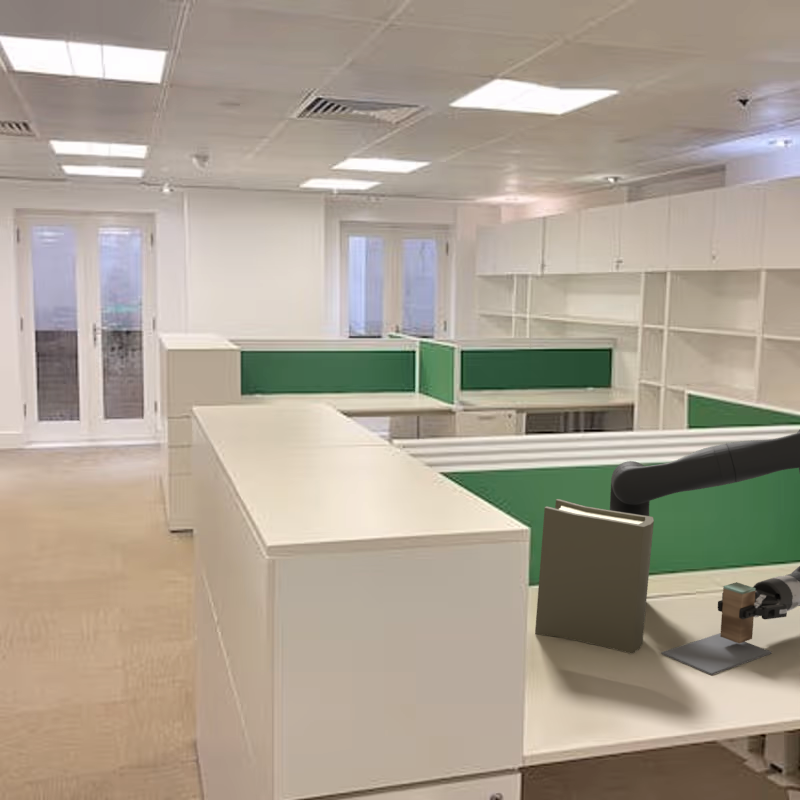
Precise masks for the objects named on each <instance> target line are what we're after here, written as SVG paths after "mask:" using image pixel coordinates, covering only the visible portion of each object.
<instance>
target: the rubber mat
mask: <svg viewBox="0 0 800 800" xmlns="http://www.w3.org/2000/svg"><path fill="white" fill-rule="evenodd" d="M720 635H721V632H719V633H716V634H712V635H710V636H707V637H705V638H700V639H697V640H695V641H692V642H689V643H685V644H682V645H680V646H676V647H673V648H670V649H666V650H664V651H661V655H663V656H666V657H669V658H670V659H673V660H675V661H677V662H679V663H682V664H684V665H687V666H689V667H692V668H693V669H696V670H699V671H700V672H703V673H705V674H707V675H710V676H713V675H716V674H718V673H722V672H725V671H726V670H729V669H732V668H734V667H738V666H741V665H743V664H746V663H749V662H751V661H754V660H757V659H759V658H760V659H761V658H763V657H765V656H766V657H767V656H768V655H771V654H772V651H770V650H768V649H766V648H763V647H760V646H758V645H755V644H752V643H750V642H748V641H745V642H742V643H736V642H734V641H731V640H728V639H726V638H723V637H720Z"/></svg>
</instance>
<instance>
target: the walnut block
mask: <svg viewBox="0 0 800 800" xmlns="http://www.w3.org/2000/svg"><path fill="white" fill-rule="evenodd" d="M722 587H723V589H722V593H723V606H722V612H721V619H720V620H721V622H720V633H721V635H720V637H723V638H726V639H728V640H731V641H734V642H736V643H742V642H748V641H750V640H753V633H754V632H753V630H754V618H755V617H750V618H746V619H740V618H739V611H740V608H743V607H746V606H749V605H752V606H753V604H754V603H755V589H756V588H753V586H749V585H747V584H744V583H740V582H738V581H737V582H732V583H730V584H726V585H724V586H722Z"/></svg>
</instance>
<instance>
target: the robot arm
mask: <svg viewBox="0 0 800 800" xmlns="http://www.w3.org/2000/svg"><path fill="white" fill-rule="evenodd" d="M791 469H798V471H799V472H798V473H800V429H799V430H798V431H797V432H796V433H792V434H789V435H784V436H782V437H777V438H770V439H757V440H755V439H754V440H743V441H742V440H740V441H734V442H726V443H722V444H718V445H712V446H708V447H705V448H702V449H699V450H696V451H693V452H692V453H689V454H686V455H685V456H683V457H680V458H678V459H676V460H673V461H670V462H666V463H660V464H653V465H646V466H645V465H643V464H642V463H640V462H637V461H632V460H629V461H628V460H627V461H623V462H622V463H620V464H619V465H617V466H616V467H615V469H614V470H613V472H612V474H611V480H610V481H611V482H610V493H609V495H610V497H609V498H610V500H609V501H610V502H609V510H611V511H617V512H624V513H630V514H637V515H644V516H650V502H651V501H653V500H656V499H659V498H663V497H665V496H669V495H673V494H677V493H682V492H689V491H698V490H704V489H707V488H708V489H709V488H714V487H721V486H725V485H730V484H735V483H740V482H744V481H747V480H752V479H755V478H760V477H763V476H766V475H770V474H773V473H776V472H780V471H785V470H791ZM752 587H753V588H756V589H755V603H754V604H753V606H752V605H749V606H746V607H743V608H740V611H739V618H740V619H746V618H750V617H754V618H759V617H761V619H763V620H771V619H773V620H774V619H778V618H779V619H780V618H786V617H787V615H788V614H787V613H788V612H789V611H793V610H794V609H796V608H797V607H800V565H799V566H798V567H797V568H795V570H793V571H792V572H791V573H789V574H786V575H778V576H775V577H772V578H768V579H765V580H761V581H758V582H756V583H754V585H753V586H752ZM722 606H723V592H722V596H721V600H718V601H717V611H718V612H721V613H722Z"/></svg>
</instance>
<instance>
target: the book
mask: <svg viewBox="0 0 800 800" xmlns="http://www.w3.org/2000/svg"><path fill="white" fill-rule="evenodd" d="M542 522H543V525H542V526H543V527H542V536H541V550H540V563H539V564H540V565H539V577H538V579H539V580H538V590H537V601H536V602H537V603H536V617H535V630H534V634H535V635H539V636H548V637H549V636H550V637H556V638H557V637H558V638H565V639H569V640H573V641H577V642H582V643H587V644H589V645H590V644H591V645H595V646H599V647H603V648H608V649H613V650H616V651H620V652H624V653H628V654H634V653H636V652H637V651H639V650H640V649H641V648H642V646H643V641H644V631H645V630H644V629H645V619H646V609H647V608H646V607H647V599H648V587H649V577H650V565H651V557H652V555H651V554H652V543H653V536H654V535H653V533H654V523H655V520H654V516H650V515H649V516H644V515H637V514H630V513H624V512H617V511H611V510H610V509H605V508H598V507H592V506H587V505H581V504H578V503H574V502H570V501H569V500H568V501H566V500H564V499H560V498H556V499H555V506H554V507H551V506H547V505H546V506H544V511H543V521H542Z"/></svg>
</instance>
